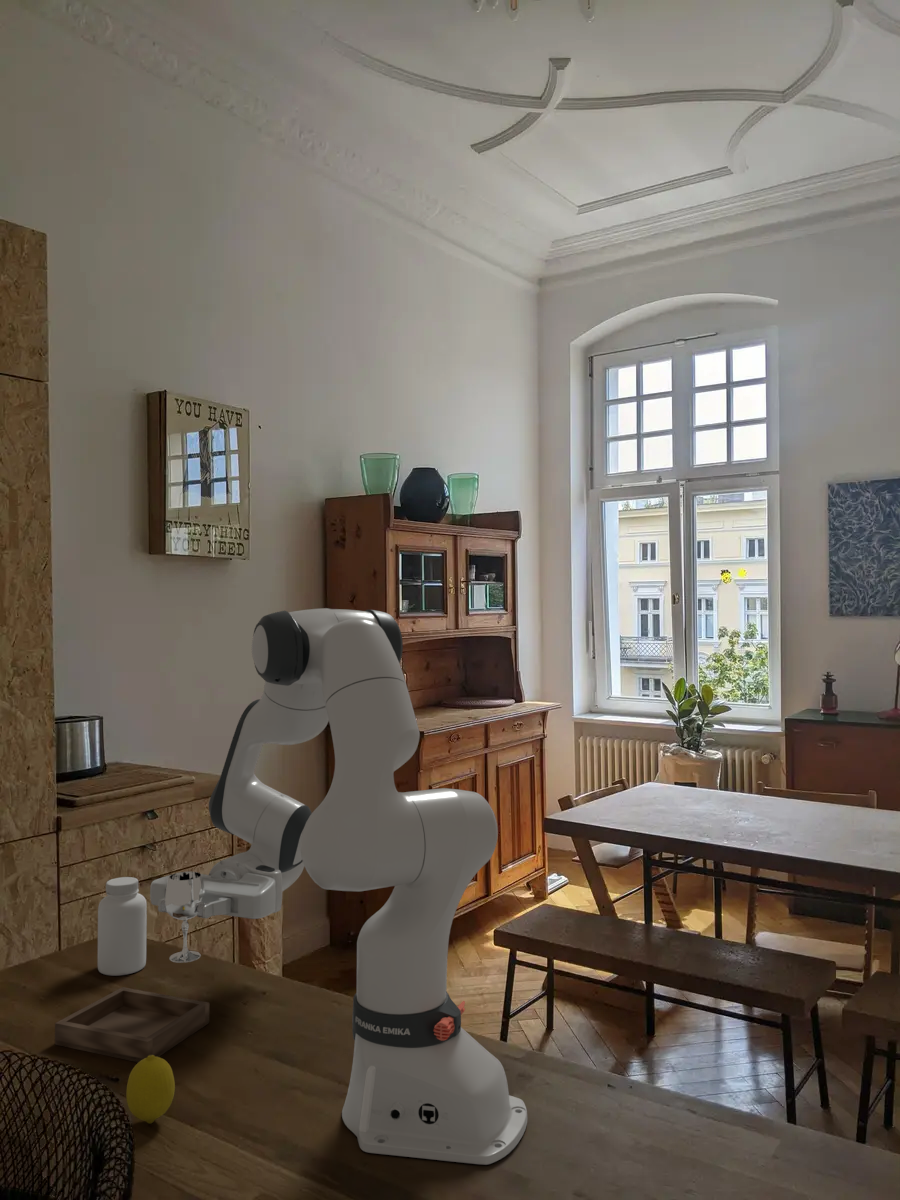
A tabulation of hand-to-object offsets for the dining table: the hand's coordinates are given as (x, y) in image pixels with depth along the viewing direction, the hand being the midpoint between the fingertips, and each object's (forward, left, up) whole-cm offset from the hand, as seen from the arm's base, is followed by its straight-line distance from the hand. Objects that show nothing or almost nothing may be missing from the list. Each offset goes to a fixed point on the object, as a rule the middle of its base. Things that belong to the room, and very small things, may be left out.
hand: (181, 909), depth 139 cm
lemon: (-13, +23, -18) cm, 31 cm away
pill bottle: (+24, -16, -18) cm, 34 cm away
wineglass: (0, -1, -7) cm, 8 cm away
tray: (+5, +4, -17) cm, 19 cm away
